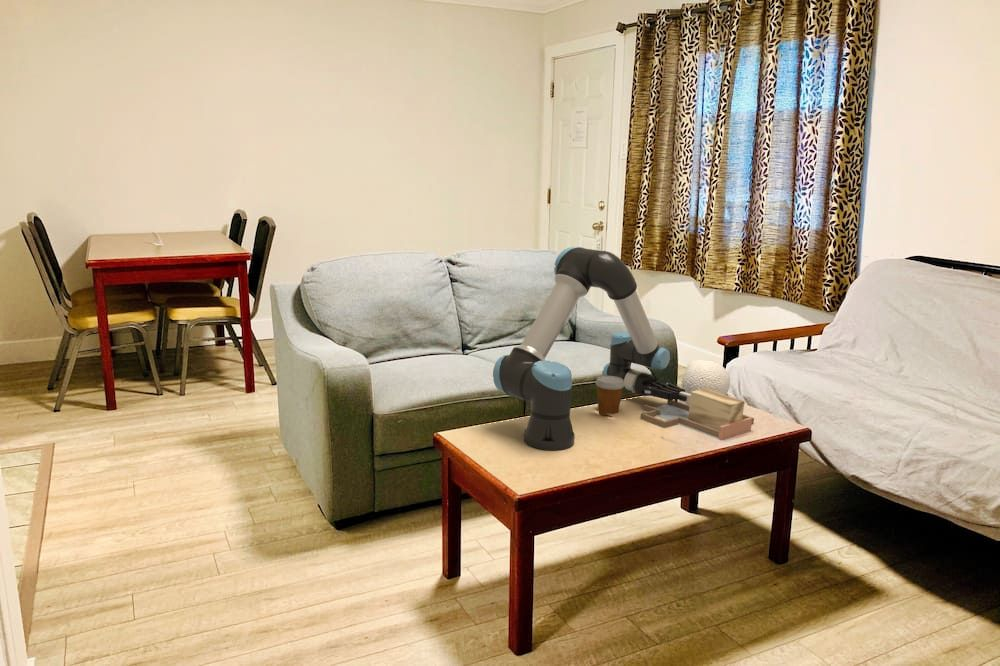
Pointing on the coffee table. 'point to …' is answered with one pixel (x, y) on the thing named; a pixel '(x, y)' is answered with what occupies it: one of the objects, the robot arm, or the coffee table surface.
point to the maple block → (714, 408)
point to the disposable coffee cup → (609, 394)
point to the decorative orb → (705, 377)
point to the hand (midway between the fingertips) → (696, 401)
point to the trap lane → (679, 415)
